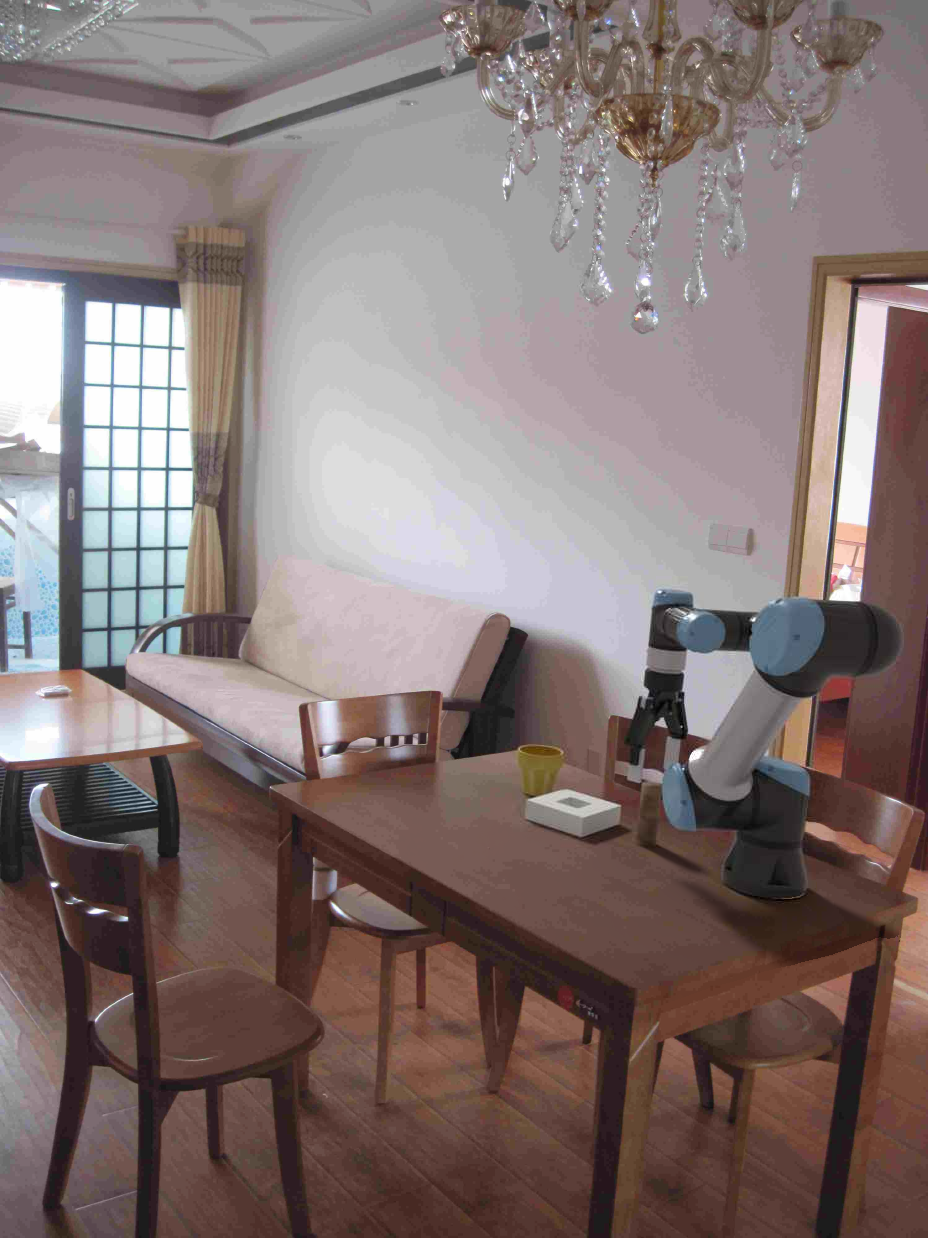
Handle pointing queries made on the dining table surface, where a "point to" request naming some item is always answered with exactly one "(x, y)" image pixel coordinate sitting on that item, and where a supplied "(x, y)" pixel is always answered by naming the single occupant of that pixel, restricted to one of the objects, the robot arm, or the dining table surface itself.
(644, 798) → the peg
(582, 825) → the socket block
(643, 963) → the dining table surface
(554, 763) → the plant pot
